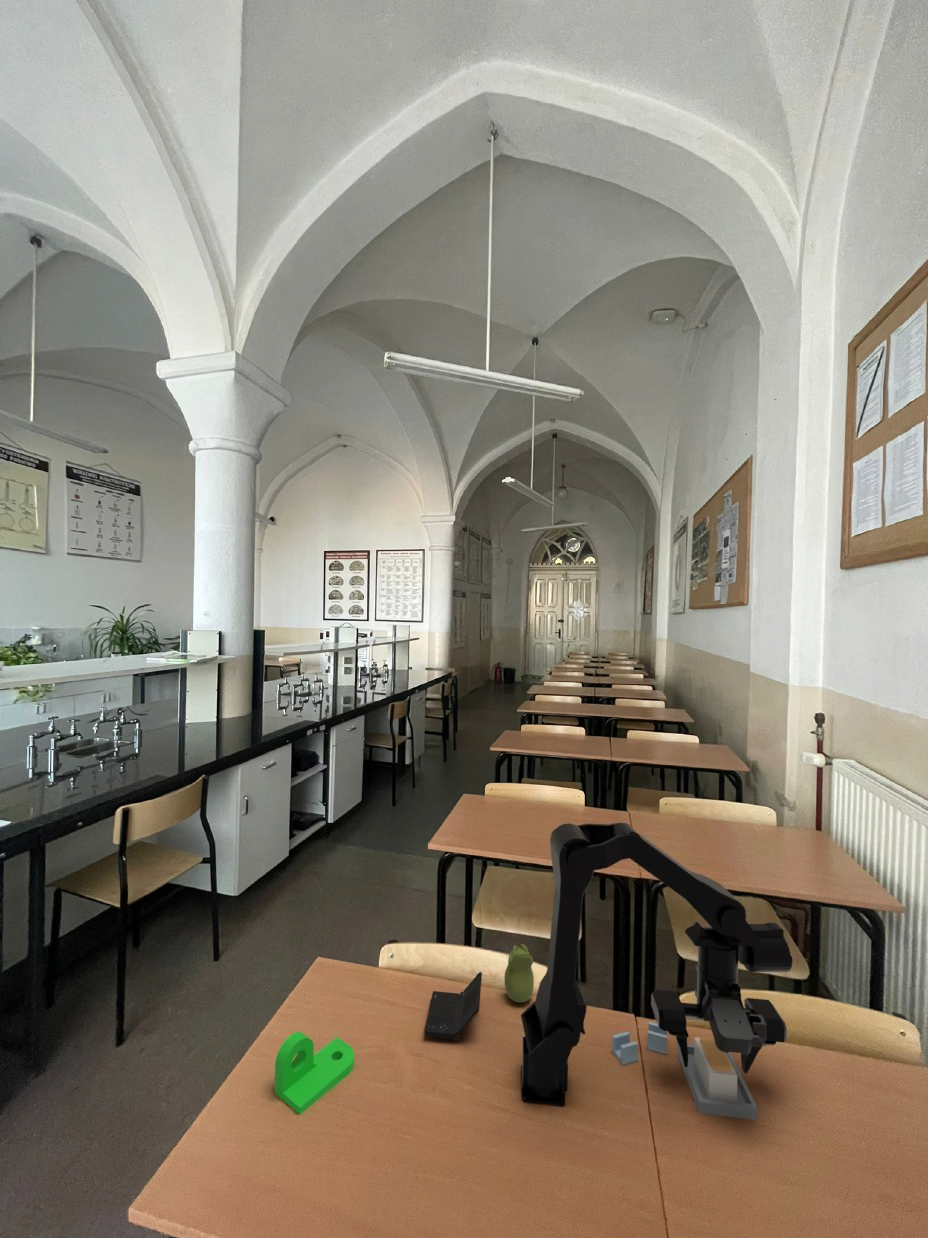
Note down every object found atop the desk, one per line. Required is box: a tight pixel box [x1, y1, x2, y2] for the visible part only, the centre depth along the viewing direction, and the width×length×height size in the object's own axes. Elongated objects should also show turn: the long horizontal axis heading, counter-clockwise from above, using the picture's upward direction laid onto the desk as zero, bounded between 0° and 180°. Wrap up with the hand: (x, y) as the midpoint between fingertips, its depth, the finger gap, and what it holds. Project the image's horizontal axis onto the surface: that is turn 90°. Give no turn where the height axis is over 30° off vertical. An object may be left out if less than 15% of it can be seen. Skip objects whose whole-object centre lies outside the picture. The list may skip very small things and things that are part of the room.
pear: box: [503, 942, 535, 1003], centre depth 104 cm, size 6×5×10 cm
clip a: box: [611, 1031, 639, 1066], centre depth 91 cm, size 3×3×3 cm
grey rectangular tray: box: [676, 1042, 759, 1121], centre depth 85 cm, size 8×11×2 cm
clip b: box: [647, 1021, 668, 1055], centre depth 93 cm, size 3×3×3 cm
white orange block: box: [693, 1036, 737, 1102], centre depth 85 cm, size 4×7×5 cm, turn 175°
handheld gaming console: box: [423, 971, 483, 1041], centre depth 98 cm, size 12×7×10 cm
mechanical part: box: [274, 1031, 355, 1116], centre depth 84 cm, size 12×6×8 cm, turn 144°
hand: (714, 1068), depth 85 cm, fingers open, 9 cm apart
